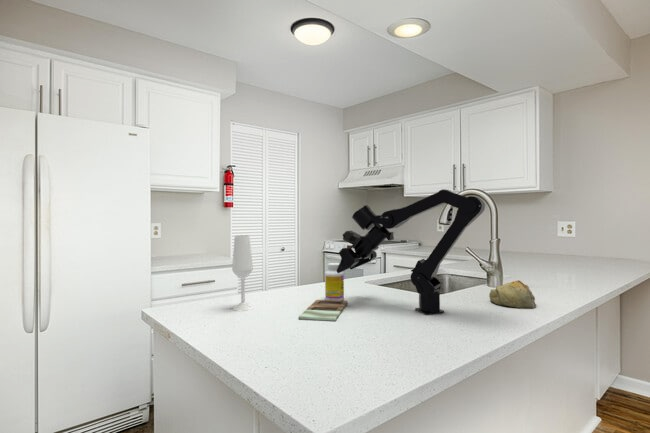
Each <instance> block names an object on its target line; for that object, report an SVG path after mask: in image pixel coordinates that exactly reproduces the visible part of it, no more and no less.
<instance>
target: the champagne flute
mask: <svg viewBox="0 0 650 433" xmlns="http://www.w3.org/2000/svg"><path fill="white" fill-rule="evenodd" d="M233 241H234V242H233V251H232V265H231V266H232V267H231V271H232V273H233V274H234V275H235V276H236V277H237V278H239V279H240V295H241V296H240V299H241V300H240V301H241V302H240V303H238V304H237V305H236V306H234V307H233V308H232V310H234V311H239V312H240V311H241V312H242V311H249V310H252V309H254V306H253V305H250V304H249V303H248V302H246V294H245V293H246V292H245V291H246V290H245V288H246V287H245V286H246V284H245V283H246V282H245V279H246V278H247V277H248V276H250V275H251V273H252V272H253V269H254V267H253V266H254V265H253V256H252V249H251V248H252V246H251V237H250V234H240V235H238V234H237V235H234V239H233Z"/></svg>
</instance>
